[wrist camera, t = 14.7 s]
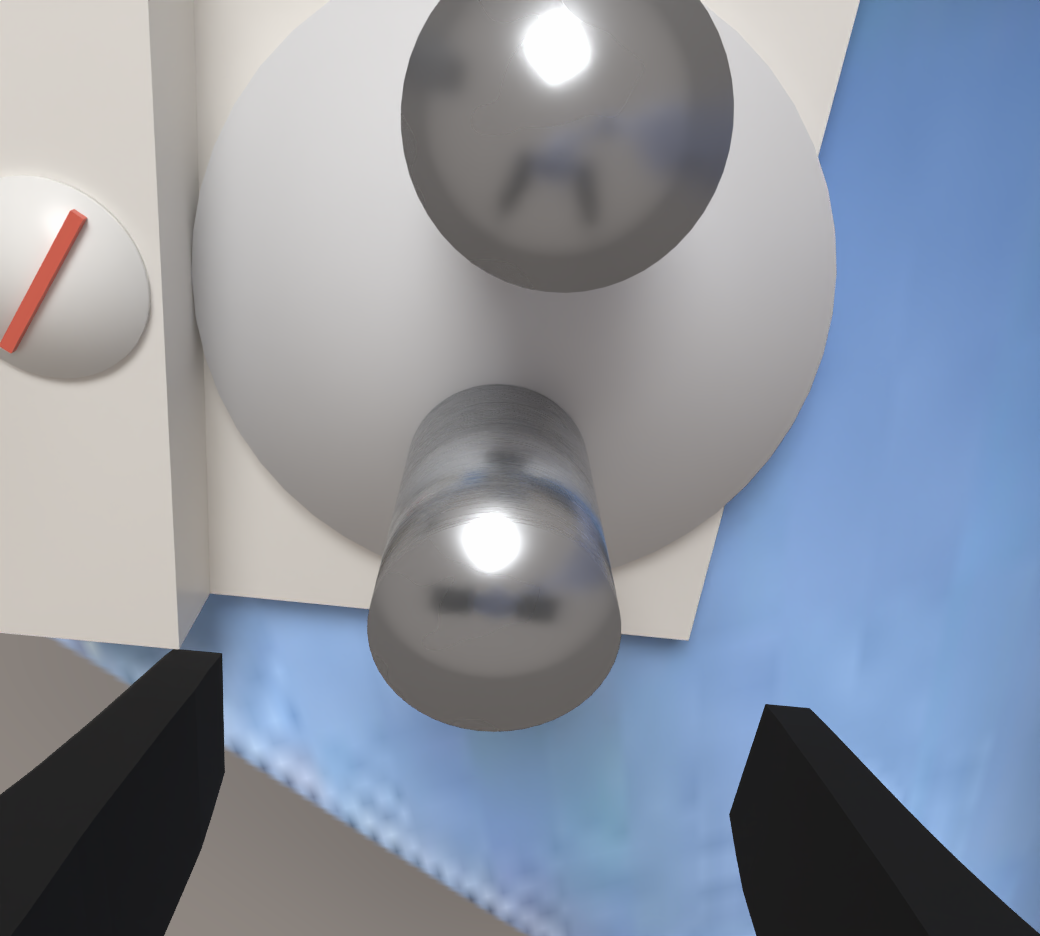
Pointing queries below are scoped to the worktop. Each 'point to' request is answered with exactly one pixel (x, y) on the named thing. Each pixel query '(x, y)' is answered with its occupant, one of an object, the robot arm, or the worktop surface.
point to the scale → (351, 312)
